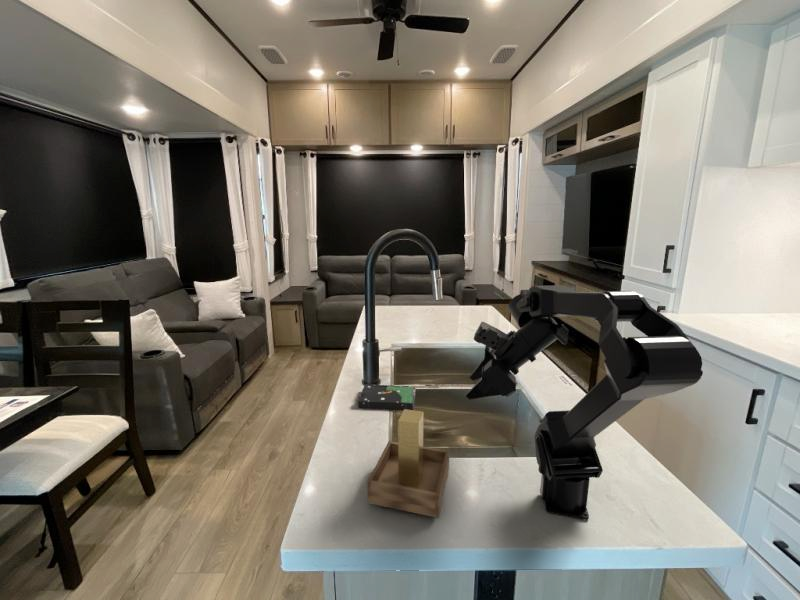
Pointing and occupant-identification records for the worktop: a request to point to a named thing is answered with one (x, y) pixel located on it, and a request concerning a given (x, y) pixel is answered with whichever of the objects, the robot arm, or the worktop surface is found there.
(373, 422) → the worktop surface
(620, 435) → the worktop surface
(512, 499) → the worktop surface
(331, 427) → the worktop surface
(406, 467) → the brass bar
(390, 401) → the disk drive
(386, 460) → the wooden storage tray
